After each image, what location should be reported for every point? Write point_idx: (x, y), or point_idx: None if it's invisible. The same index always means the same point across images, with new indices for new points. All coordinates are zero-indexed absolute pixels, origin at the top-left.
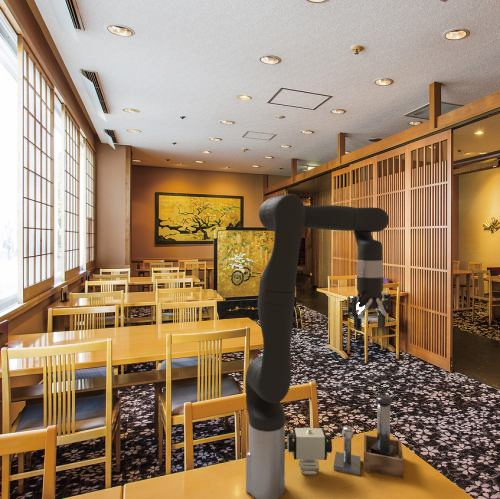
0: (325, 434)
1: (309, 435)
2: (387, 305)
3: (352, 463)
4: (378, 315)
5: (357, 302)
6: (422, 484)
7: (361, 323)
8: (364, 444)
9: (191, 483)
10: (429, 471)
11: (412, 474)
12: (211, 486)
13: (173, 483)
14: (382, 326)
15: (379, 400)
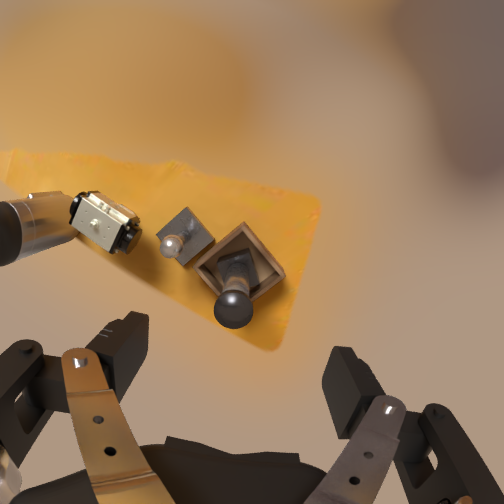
0: (114, 245)
1: (89, 233)
2: (409, 496)
3: (186, 246)
4: (355, 403)
5: (16, 486)
6: (250, 322)
7: (130, 383)
8: (214, 250)
9: (13, 168)
10: (287, 311)
11: (258, 303)
12: (24, 183)
13: (3, 160)
14: (323, 388)
15: (214, 311)
